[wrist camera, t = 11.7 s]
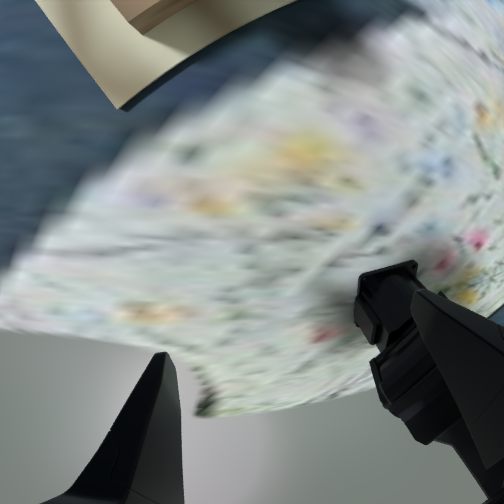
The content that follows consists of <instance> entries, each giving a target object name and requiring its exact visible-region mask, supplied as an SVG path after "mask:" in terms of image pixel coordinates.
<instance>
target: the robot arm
mask: <svg viewBox="0 0 504 504" xmlns="http://www.w3.org/2000/svg"><path fill="white" fill-rule="evenodd" d="M417 268H418V263H417V262H416V261H415V260H411V261H408V262H404V263H400V264H397V265H393V266H389V267H386V268H382V269H378V270H374V271H371V272H367V273H363V274H361V275H360V276H359V279H358V290H357V296H356V298H355V308H354V318H355V322H354V323H355V325H356V327H360V328H361V330H362V331H363V333H364V335H365V337H366V338H367V340H368V342H369V343H370V344H371V345H375V344H376V346H377V348H378V349H379V351H380V354H379V355H378V356H377V357H375V358H373V359H372V360H371V361H369V363H370V366H371V371H372V374H373V378H374V381H375V385H376V388H377V392H378V395H379V399H380V401H381V402H382V404H383V407H384V408H385V409H388V410H389V411H390V412H391V413H392V414H393V415H394V416H396V417H398V418H401V420H402V421H403V422H404V423H405V425H406V426H407V428H408V429H409V431H410V433H411V434H412V435H413V437H414V439H415V440H416V441H418V442H420V443H422V444H424V445H428V444H430V443H431V442H432V441H437V442H440V443H444V444H447V445H450V446H452V447H453V448H454V449H455V451H456V452H457V454H458V455H459V456H460V458H461V459H462V461H463V462H464V464H465V465H466V467H467V468H468V470H469V471H470V472H471V474H472V475H473V477H474V478H475V480H476V481H477V483H478V484H479V486H480V487H481V489H482V490H483V492H484V493H485V495H486V496H487V498H488V500H486V501H485V502H484V503H482V504H504V326H502V325H500V324H497V323H495V322H493V321H491V320H489V319H487V318H485V317H483V316H481V315H479V314H477V313H475V312H473V311H471V310H469V309H467V308H465V307H463V306H461V305H458V304H456V303H454V302H452V301H450V300H449V299H448V298H447V297H446V296H445V295H444V294H443V293H442V292H441V291H440V292H439V293H438V294H435V293H433V292H431V291H429V290H427V289H426V288H425V287H424V285H423V284H422V283H421V282H420V281H419V280H418V279H417V278H416V273H417ZM364 278H365V279H364ZM363 279H364V280H363ZM176 374H177V373H176V368H175V366H174V364H173V362H172V360H171V358H170V356H169V354H168V353H167V352H159V353H155V354H154V356H153V357H152V359H151V361H150V362H149V364H148V366H147V367H146V369H145V371H144V372H143V374H142V376H141V377H140V379H139V381H138V382H137V384H136V386H135V387H134V389H133V391H132V393H131V394H130V396H129V397H128V399H127V401H126V403H125V404H124V406H123V408H122V410H121V411H120V413H119V415H118V416H117V418H116V420H115V422H114V423H113V425H112V427H111V428H110V431H109V432H108V434H107V435H106V437H105V439H104V440H103V442H102V444H101V445H100V447H99V449H98V450H97V452H96V453H95V454H94V456H93V458H92V459H91V460H90V462H89V463H88V464H87V466H86V467H85V469H84V470H83V471H82V473H81V474H80V476H79V477H78V478H77V480H76V481H75V482H74V484H73V485H72V486H71V487H70V488H69V489H68V490H67V491H66V492H64V493H63V494H61V495H59V496H57V497H55V498H52V499H50V500H48V501H45V502H43V503H40V504H184V489H183V469H182V440H181V408H180V400H179V391H178V382H177V375H176Z"/></svg>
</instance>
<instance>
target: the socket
mask: <svg viewBox="0 0 504 504" xmlns="http://www.w3.org/2000/svg"><path fill="white" fill-rule="evenodd" d="M35 1H36V2H37V3H38V5H39V6H40V7H41V9H42V10H43V12H44V13H45V14H46V16H47V17H48V18H49V20H50V21H51V23H52V24H53V25H54V27H55V28H56V29H57V31H58V32H59V33H60V35H61V36H62V37H63V39H64V40H65V41H66V43H67V44H68V45H69V47H70V48H71V49H72V51H73V52H74V53H75V55H76V56H77V57H78V59H79V60H80V61H81V63H82V64H83V65H84V67H85V68H86V69H87V71H88V72H89V73H90V75H91V76H92V77H93V79H94V80H95V81H96V82H97V84H98V85H99V86H100V88H101V89H102V90H103V92H104V93H105V94H106V96H107V97H108V98H109V99H110V101H111V102H112V103H113V105H114V106H115V107H116V109H120V108H121V107H122V106H124V105H125V104H126V103H127V102H128V101H130V100H131V99H132V98H133V97H135V96H136V95H137V94H138V93H140V92H141V91H142V90H143V89H145V88H146V87H147V86H149V85H150V84H151V83H153V82H154V81H155V80H157V79H158V78H160V77H161V76H162V75H164V74H165V73H166V72H168V71H169V70H171V69H172V68H174V67H175V66H177V65H178V64H180V63H181V62H183V61H184V60H186V59H187V58H189V57H190V56H192V55H193V54H195V53H196V52H198V51H200V50H201V49H203V48H204V47H206V46H208V45H209V44H211V43H213V42H214V41H216V40H218V39H220V38H221V37H223V36H225V35H227V34H228V33H230V32H232V31H234V30H236V29H238V28H239V27H241V26H243V25H245V24H247V23H249V22H251V21H253V20H255V19H257V18H259V17H261V16H263V15H265V14H267V13H270V12H272V11H274V10H276V9H278V8H281V7H283V6H285V5H288V4H290V3H292V2H295V1H297V0H35Z"/></svg>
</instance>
